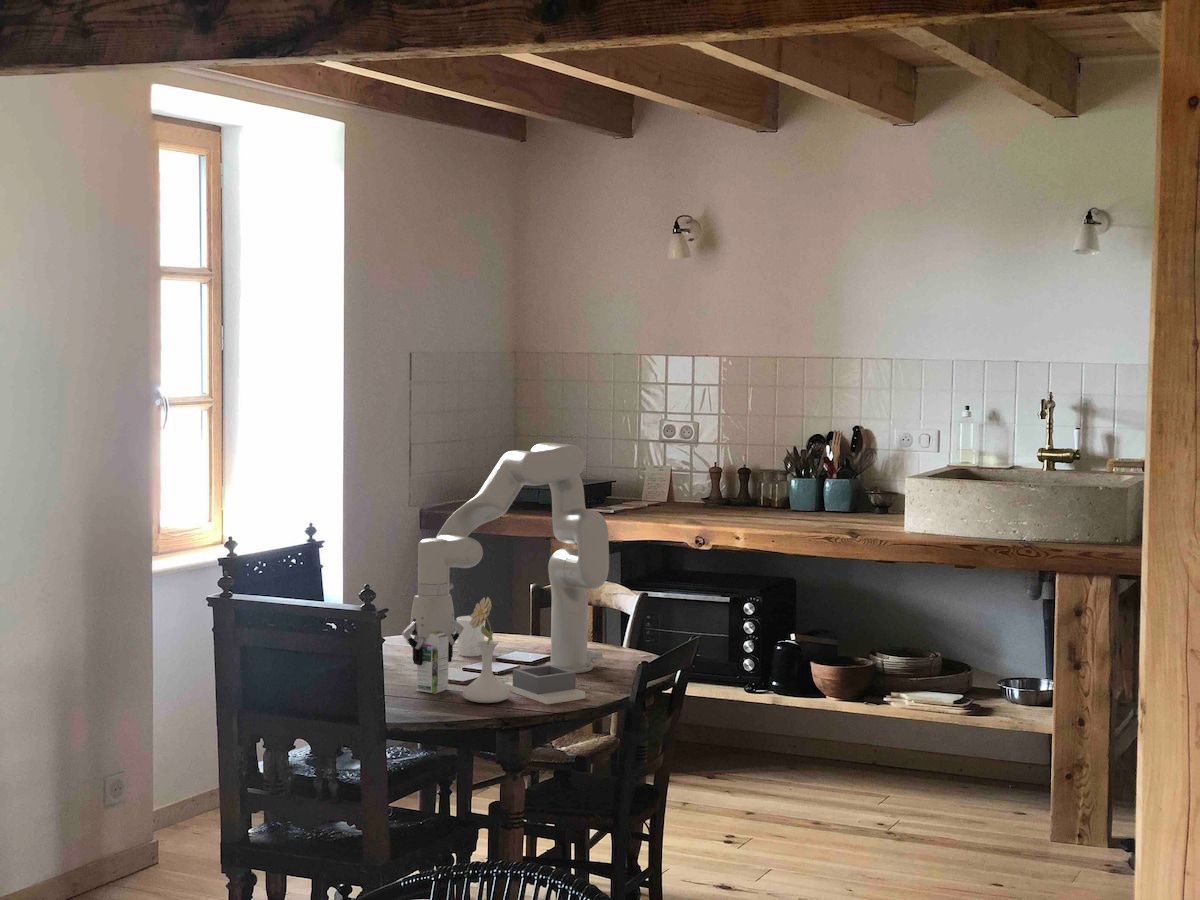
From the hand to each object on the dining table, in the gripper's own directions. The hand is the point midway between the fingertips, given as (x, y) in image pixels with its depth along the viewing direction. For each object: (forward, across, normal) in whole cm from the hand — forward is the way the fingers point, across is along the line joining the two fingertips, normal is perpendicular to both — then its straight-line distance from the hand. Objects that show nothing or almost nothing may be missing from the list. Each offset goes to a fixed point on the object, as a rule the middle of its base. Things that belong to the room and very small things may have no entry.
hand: (432, 662), depth 331 cm
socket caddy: (+7, -21, +17) cm, 28 cm away
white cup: (+7, -30, -33) cm, 45 cm away
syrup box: (+7, 0, 0) cm, 7 cm away
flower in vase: (+7, -5, +17) cm, 19 cm away
